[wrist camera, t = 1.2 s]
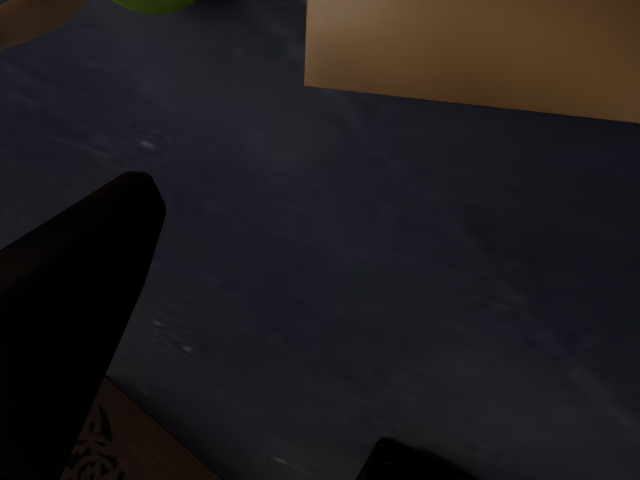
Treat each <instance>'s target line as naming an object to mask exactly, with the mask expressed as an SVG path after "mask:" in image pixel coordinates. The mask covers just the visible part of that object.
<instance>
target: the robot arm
mask: <svg viewBox="0 0 640 480" xmlns="http://www.w3.org/2000/svg"><path fill="white" fill-rule="evenodd" d="M165 215H166V206H165V203H164V200H163V198H162V196H161V194H160V192H159V190H158V188H157V186H156V184H155V182H154V180H153V178H152V177H151V176H150V175H149V174H148V173H145V172H133V171H129V172H125V173H123V174H122V175H120V176H118V177H117V178H115V179H114V180H112V181H110V182H109V183H107V184H106V185H104V186H102V187H101V188H99V189H98V190H96V191H94V192H93V193H91V194H90V195H88V196H86V197H85V198H83V199H82V200H80V201H78V202H77V203H75V204H74V205H72V206H70V207H69V208H67V209H66V210H64V211H62V212H61V213H59V214H58V215H56V216H54V217H53V218H51V219H50V220H48V221H46V222H45V223H43V224H42V225H40V226H38V227H37V228H35V229H34V230H32V231H30V232H29V233H27V234H26V235H24V236H22V237H21V238H19V239H18V240H16V241H14V242H13V243H11V244H10V245H8V246H6V247H5V248H3V249H2V250H0V480H60V478H61V476H62V474H63V471H64V469H65V467H66V464H67V462H68V460H69V457H70V455H71V453H72V451H73V448H74V446H75V444H76V441H77V439H78V437H79V434H80V432H81V430H82V427H83V425H84V423H85V420H86V418H87V416H88V414H89V411H90V409H91V407H92V404H93V402H94V400H95V397H96V395H97V393H98V390H99V388H100V386H101V383H102V381H103V379H104V377H105V374H106V372H107V370H108V367H109V365H110V363H111V360H112V358H113V356H114V353H115V351H116V349H117V346H118V344H119V342H120V340H121V337H122V335H123V333H124V330H125V328H126V326H127V323H128V321H129V319H130V316H131V314H132V312H133V309H134V307H135V305H136V303H137V300H138V298H139V296H140V293H141V291H142V288H143V286H144V283H145V280H146V277H147V274H148V271H149V268H150V265H151V261H152V258H153V255H154V252H155V248H156V245H157V242H158V239H159V235H160V232H161V229H162V226H163V222H164V219H165ZM356 480H475V479H473V478H471V477H469V476H467V475H464V474H462V473H460V472H458V471H455V470H453V469H451V468H449V467H446V466H444V465H442V464H440V463H437V462H435V461H433V460H431V459H428V458H426V457H424V456H422V455H419V454H417V453H415V452H413V451H410V450H408V449H406V448H404V447H401V446H399V445H397V444H395V443H393V442H390V441H388V440H384V439H382V440H379V441H378V442H377V444H376V445H375V447H374V449H373V450H372V452H371V454H370V456H369V457H368V459H367V461H366V463H365V464H364V466H363V468H362V469H361V471H360V473H359V475H358V476H357V478H356Z"/></svg>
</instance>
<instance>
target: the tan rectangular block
mask: <svg viewBox="0 0 640 480" xmlns="http://www.w3.org/2000/svg"><path fill="white" fill-rule="evenodd" d="M304 86H308V87H317V88H326V89H335V90H344V91H353V92H362V93H371V94H380V95H389V96H398V97H407V98H416V99H425V100H434V101H443V102H452V103H461V104H470V105H479V106H488V107H497V108H506V109H515V110H524V111H533V112H542V113H551V114H560V115H569V116H578V117H587V118H596V119H605V120H615V121H624V122H633V123H640V0H307V15H306V45H305V76H304Z"/></svg>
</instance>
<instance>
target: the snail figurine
mask: <svg viewBox="0 0 640 480" xmlns="http://www.w3.org/2000/svg"><path fill="white" fill-rule="evenodd" d="M88 1H89V0H9V1H7V2H5V3H3V4H0V52H1V51H2V50H3V49H5V48H8V47H11V46H15V45H19V44H22V43H25V42H28V41H31V40H33V39H35V38H38V37H40V36H42V35H44V34H46V33H48V32H50V31H52V30H54V29H55V28H57V27H58V26H60V25H62V24H63V23H65V22H66V21H68V20H69V19H70V18H72V17H73V16H74V15H75V14H76V13H78V12H79V11H80V10H81V9H82V8H83V7H84V6H85V5H86V4H87V3H88ZM112 1H114V2H115V3H117V4H119V5H120V6H122V7H125V8H127V9H129V10H132V11H135V12H139V13H143V14H151V15H162V14H169V13H174V12H177V11H180V10H182V9H184V8H186V7H188V6H190V5H191V4H193V3H194V2H196V1H197V0H112Z"/></svg>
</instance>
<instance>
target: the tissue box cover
mask: <svg viewBox="0 0 640 480" xmlns="http://www.w3.org/2000/svg"><path fill="white" fill-rule="evenodd" d="M60 480H221V479H220V478H219V477H218V476H217V475H216V474H214V473H213V472H212V471H211V470H210V469H209V468H208V467H206V466H205V465H204V464H203V463H202V462H201V461H200V460H198V459H197V458H196V457H195V456H194V455H193V454H192V453H191V452H189V451H188V450H187V449H186V448H185V447H184V446H183V445H181V444H180V443H179V442H178V441H177V440H176V439H175V438H173V437H172V436H171V435H170V434H169V433H168V432H167V431H165V430H164V429H163V428H162V427H161V426H160V425H159V424H158V423H156V422H155V421H154V420H153V419H152V418H151V417H150V416H148V415H147V414H146V413H145V412H144V411H143V410H142V409H140V408H139V407H138V406H137V405H136V404H135V403H134V402H133V401H131V400H130V399H129V398H128V397H127V396H126V395H125V394H123V393H122V392H121V391H120V390H119V389H118V388H117V387H115V386H114V385H113V384H112V383H111V382H110V381H109V380H108V379H106V378H105V377H104V379H103V381H102V383H101V386H100V388H99V390H98V393H97V395H96V397H95V400H94V402H93V404H92V407H91V409H90V411H89V414H88V416H87V418H86V420H85V423H84V425H83V427H82V430H81V432H80V434H79V437H78V439H77V441H76V444H75V446H74V448H73V451H72V453H71V455H70V457H69V460H68V462H67V464H66V467H65V469H64V471H63V474H62V476H61V478H60Z"/></svg>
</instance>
